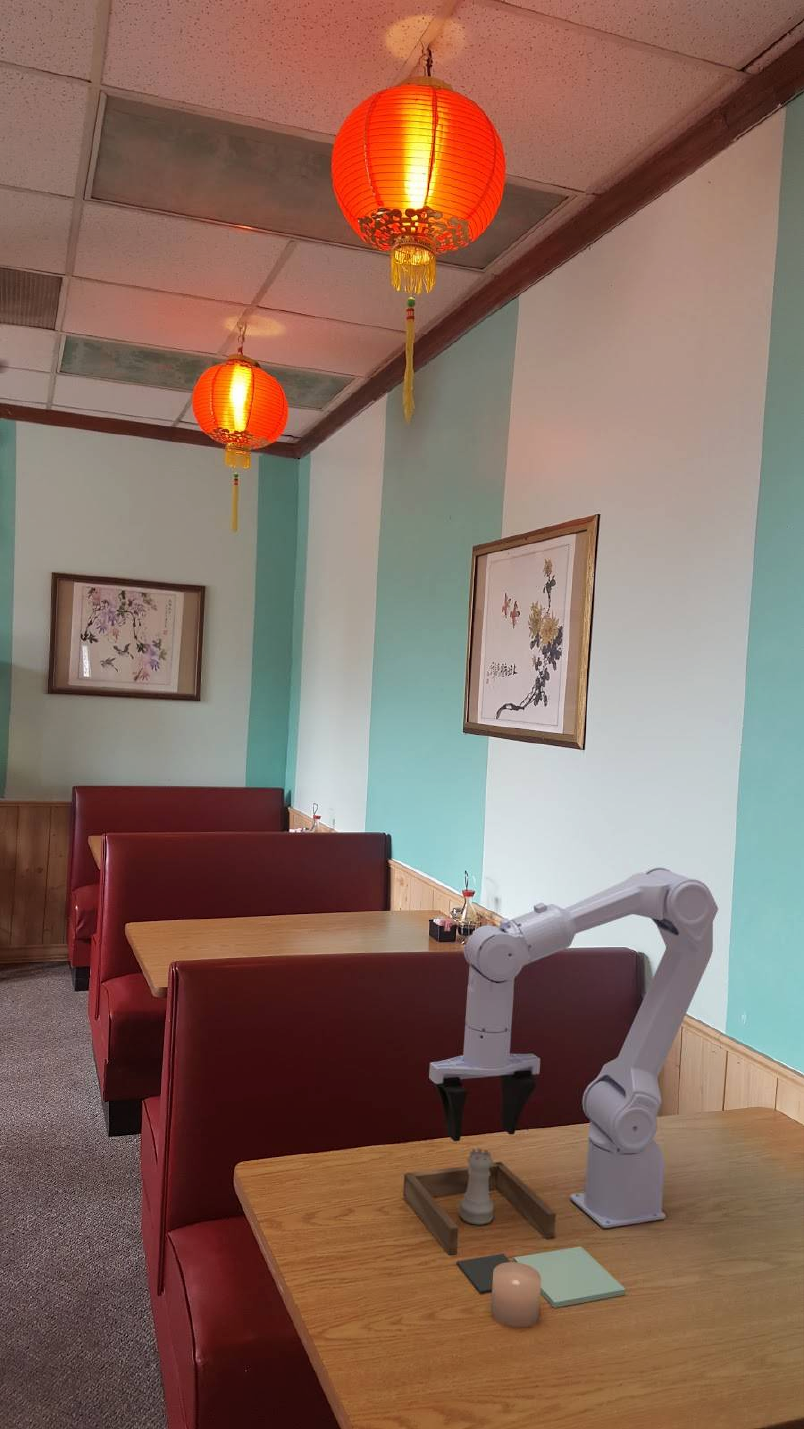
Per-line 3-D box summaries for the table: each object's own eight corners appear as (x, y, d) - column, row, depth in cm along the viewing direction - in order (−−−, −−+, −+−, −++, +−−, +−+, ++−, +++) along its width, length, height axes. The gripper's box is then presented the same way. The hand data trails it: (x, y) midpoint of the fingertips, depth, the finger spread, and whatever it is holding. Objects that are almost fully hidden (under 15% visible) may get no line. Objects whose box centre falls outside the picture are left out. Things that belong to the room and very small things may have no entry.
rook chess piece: (492, 1228, 122) (496, 1163, 122) (455, 1222, 123) (460, 1157, 123) (495, 1211, 126) (500, 1148, 126) (460, 1205, 127) (465, 1142, 127)
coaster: (580, 1251, 118) (580, 1246, 118) (625, 1294, 110) (625, 1289, 110) (513, 1262, 115) (513, 1257, 115) (554, 1308, 106) (554, 1302, 106)
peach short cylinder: (523, 1295, 108) (526, 1259, 108) (547, 1323, 104) (550, 1284, 104) (482, 1303, 106) (485, 1265, 106) (504, 1331, 102) (507, 1292, 102)
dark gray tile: (503, 1256, 116) (503, 1253, 116) (529, 1285, 110) (529, 1282, 110) (456, 1263, 114) (456, 1261, 114) (480, 1293, 108) (480, 1291, 108)
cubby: (499, 1184, 134) (501, 1161, 134) (554, 1237, 121) (555, 1213, 121) (402, 1196, 128) (404, 1173, 128) (449, 1254, 115) (450, 1228, 115)
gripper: (522, 1012, 131) (516, 1115, 131) (421, 1018, 125) (414, 1127, 125) (551, 1029, 124) (544, 1138, 124) (446, 1037, 119) (438, 1151, 119)
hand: (481, 1134), depth 124 cm, fingers open, 7 cm apart
